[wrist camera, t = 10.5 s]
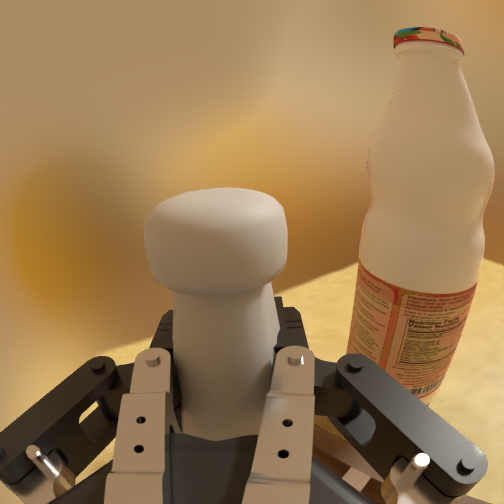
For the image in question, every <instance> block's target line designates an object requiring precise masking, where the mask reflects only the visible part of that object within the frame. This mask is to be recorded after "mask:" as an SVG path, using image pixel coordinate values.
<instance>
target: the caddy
mask: <svg viewBox="0 0 504 504" xmlns="http://www.w3.org/2000/svg"><path fill="white" fill-rule="evenodd" d="M312 455H313V456H314V457H316V458H317V459H318V460H319V461H320V462H322V463H323V464H324V465H325V466H327V467H328V468H329V469H330V470H332V471H333V472H334V473H336V474H337V475H338V476H339V477H341V478H342V479H343V480H345V481H346V482H347V483H349V484H350V485H351V486H353V487H354V488H355V489H357V490H358V491H359V492H361V493H362V494H363V495H365V496H366V497H368V498H369V499H370V500H372V501H374V502H376V503H378V504H386V501H385V500H384V498H383V497H382V495H381V485H382V482H383V481H384V480H383V478H382V477H381V476H380V475H379V474H378V473H377V472H376V471H375V470H374V469H373V468H372V467H371V466H370V465H369V464H368V462H367V461H366V460H365V459H364V458H363V457H362V456H361V455H360V454H359V453H358V452H357V450H356V449H355V448H354V447H353V446H352V445H351V444H350V443H348V442H346V441H344V440H343V439H341V438H339V437H337V436H335V435H333V434H332V433H330V432H328V431H326V430H324V429H323V428H321V427H319V426H317V425H316V424H314V427H313V445H312ZM456 504H491V503H488V502H485V501H481V500H478V499H475V498H473V497H470V496H467V495H464V496H463V497H462V498H461V499H460V500H459V501H458V502H457V503H456Z"/></svg>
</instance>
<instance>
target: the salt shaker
mask: <svg viewBox="0 0 504 504" xmlns="http://www.w3.org/2000/svg"><path fill="white" fill-rule="evenodd" d="M287 240H288V236H287V225H286V220H285V214H284V209H283V207H282V206H281V205H280V204H279V203H278V202H277V201H276V200H275V199H274V198H273V197H272V196H269V195H267V194H264V193H262V192H258V191H255V190H250V189H242V188H213V189H203V190H197V191H191V192H186V193H183V194H180V195H177V196H175V197H172V198H169V199H167V200H164V201H162V202H161V203H160V204H158V205H157V206H155V207H154V209H153V210H152V211H151V212H150V214H149V215H148V216H147V218H146V219H145V232H144V242H145V250H146V255H147V259H148V263H149V267H150V270H151V273H152V275H153V277H154V278H155V280H156V282H157V283H159V284H161V285H162V286H164V287H166V288H168V289H170V290H172V291H173V292H174V295H173V298H174V299H173V338H172V340H173V361H174V365H176V367H177V373H178V379H179V384H180V390H181V395H182V406H183V410H184V434H188V435H192V436H195V437H199V438H203V439H207V440H211V441H220V440H226V439H231V438H236V437H240V436H245V435H259V432H260V427H261V422H262V417H263V412H264V407H265V402H266V397H267V393H268V392H270V388H271V383H272V377H273V371H274V366H275V357H276V354H275V350H274V346H275V345H276V344H277V335H278V333H279V330H280V325H279V320H278V315H277V310H276V305H275V300H274V295H273V290H272V285H271V281H272V280H273V279H274V278H275V277H276V276H277V275H278V274H279V273H281V272H282V271H283V269H284V266H285V263H286V260H287V242H288V241H287Z"/></svg>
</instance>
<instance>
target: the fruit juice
mask: <svg viewBox="0 0 504 504" xmlns="http://www.w3.org/2000/svg"><path fill="white" fill-rule="evenodd" d="M394 49H395V51H396V52H395V54H396V56H397V58H399V60H400V66H399V72H398V75H397V78H396V82H395V86H394V89H393V92H392V96H391V99H390V102H389V105H388V107H387V110H386V113H385V115H384V117H383V119H382V121H381V123H380V124H379V126H378V128H377V129H376V130H375V132H374V134H373V135H372V137H371V139H370V142H369V146H368V152H367V170H368V176H369V180H370V185H371V189H372V203H371V206H370V208H369V210H368V212H367V214H366V216H365V219H364V224H363V229H362V235H361V242H360V250H359V264H358V274H357V283H356V291H355V299H354V307H353V314H352V321H351V328H350V334H349V341H348V347H347V353H346V355H347V354H353V353H354V354H362V355H365V356H367V357H369V358H370V359H371V360H372V361H374V362H375V363H376V364H377V365H378V366H380V367H381V368H382V369H383V370H384V371H386V372H387V373H388V374H389V375H390V376H392V377H393V378H394V379H395V380H397V381H398V382H399V383H400V384H401V385H403V386H404V387H405V388H406V389H407V390H409V391H410V392H411V393H412V394H413V395H415V396H416V397H417V398H418V399H419V400H421V401H422V402H423V403H424V404H425V405H428V404H429V403H430V402H431V401H432V399H433V398H434V397H435V395H436V394H437V392H438V390H439V388H440V386H441V384H442V381H443V379H444V377H445V375H446V372H447V370H448V368H449V365H450V363H451V360H452V358H453V355H454V353H455V350H456V347H457V345H458V342H459V339H460V337H461V334H462V331H463V328H464V325H465V322H466V319H467V316H468V313H469V310H470V306H471V303H472V300H473V296H474V293H475V289H476V286H477V282H478V279H479V275H480V271H481V267H482V261H483V255H484V247H485V236H484V230H483V221H482V219H483V213H484V210H485V207H486V205H487V202H488V200H489V197H490V194H491V191H492V188H493V184H494V160H493V156H492V153H491V150H490V148H489V146H488V144H487V142H486V139H485V137H484V134H483V132H482V129H481V126H480V123H479V120H478V117H477V114H476V111H475V108H474V105H473V102H472V99H471V96H470V93H469V90H468V87H467V84H466V82H465V79H464V77H463V74H462V71H461V64H463V62H464V58H463V57H464V49H463V45H462V42H461V40H460V38H459V37H458V36H456V35H454V34H452V33H450V32H447V31H443V30H439V29H434V28H424V27H417V28H416V27H415V28H406V29H402V30H399V31H397V32H396V33H395V34H394Z"/></svg>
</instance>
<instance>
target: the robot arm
mask: <svg viewBox="0 0 504 504" xmlns="http://www.w3.org/2000/svg"><path fill="white" fill-rule="evenodd" d="M274 300H275V305H276V310H277V315H278V320H279V325H280V330H279V333H278V335H277V344H276V345H275V346H274V350H275V354H276V357H275V366H274V371H273V377H272V383H271V388H270V392H268V393H267V397H266V402H265V407H264V412H263V417H262V422H261V427H260V432H259V435H245V436H240V437H236V438H231V439H226V440H220V441H211V440H207V439H203V438H199V437H195V436H192V435H188V434H184V410H183V406H182V395H181V390H180V384H179V379H178V373H177V367H176V365H174V361H173V340H172V338H173V310H169V311H168V312H167V313H166V314H165V315H163V316H162V319H161V321H160V323H159V326H158V328H157V331H156V333H155V335H154V338H153V340H152V343H151V345H150V347H149V349H146V350H144V351H142V352H140V353H139V354H138V355H137V356H136V358H135V362H134V363H130V364H125V365H119V366H116V364H115V362H114V360H113V359H112V358H110V357H107V356H98V357H94V358H92V359H90V360H88V361H87V362H86V363H85V364H83V365H82V366H81V367H80V368H78V369H77V370H76V371H75V372H73V373H72V374H71V375H70V376H69V377H67V378H66V379H65V380H64V381H62V382H61V383H60V384H59V385H57V386H56V387H55V388H54V389H53V390H51V391H50V392H49V393H48V394H46V395H45V396H44V397H43V398H42V399H40V400H39V401H38V402H37V403H35V404H34V405H33V406H32V407H31V408H29V409H28V410H27V411H26V412H24V413H23V414H22V415H21V416H20V417H18V418H17V419H16V420H15V421H14V422H13V423H11V424H10V425H9V426H8V427H6V428H5V429H4V430H3V431H2V432H0V481H1V482H2V483H3V484H4V485H5V486H6V487H7V488H9V489H10V490H11V491H12V492H13V493H14V494H15V495H16V496H18V497H19V498H20V499H21V501H22V502H23V503H24V504H376V503H375V502H373V501H372V500H370V499H369V498H368V497H366V496H365V495H363V494H362V493H361V492H359V491H358V490H357V489H355V488H354V487H353V486H351V485H350V484H349V483H347V482H346V481H345V480H343V479H342V478H341V477H339V476H338V475H337V474H336V473H334V472H333V471H332V470H330V469H329V468H328V467H327V466H325V465H324V464H323V463H322V462H320V461H319V460H318V459H317V458H316V457H314V456H313V455H312V445H313V427H314V414H316V415H322V416H328V418H329V420H330V421H331V423H332V424H333V425H334V426H335V427H336V428H337V429H338V430H339V432H340V433H341V434H342V435H343V436H344V437H345V438H346V439H347V440H348V442H349V443H350V444H351V445H352V446H353V447H354V448H355V449H356V450H357V452H358V453H359V454H360V455H361V456H362V457H363V458H364V459H365V460H366V461H367V462H368V464H369V465H370V466H371V467H372V468H373V469H374V470H375V471H376V472H377V473H378V474H379V475H380V476H381V477H382V478H383V480H384V481H383V482H382V485H381V495H382V497H383V498H384V500H385V501H386V504H456V503H457V502H458V501H459V500H460V499H461V498H462V497H463V496H464V495H465V494H466V493H468V492H469V491H470V490H471V489H472V488H473V487H474V486H475V485H476V484H477V483H478V482H479V481H480V479H481V478H482V477H483V476H484V475H485V473H486V471H487V467H488V462H487V458H486V456H485V454H484V453H483V452H482V451H481V450H480V449H479V448H478V447H476V446H475V445H474V444H473V443H472V442H470V441H469V440H468V439H467V438H465V437H464V436H463V435H462V434H461V433H459V432H458V431H457V430H456V429H455V428H453V427H452V426H451V425H450V424H448V423H447V422H446V421H445V420H444V419H442V418H441V417H440V416H439V415H438V414H436V413H435V412H434V411H433V410H431V409H430V408H429V407H428V406H427V405H425V404H424V403H423V402H422V401H421V400H419V399H418V398H417V397H416V396H415V395H413V394H412V393H411V392H410V391H409V390H407V389H406V388H405V387H404V386H403V385H401V384H400V383H399V382H398V381H397V380H395V379H394V378H393V377H392V376H390V375H389V374H388V373H387V372H386V371H384V370H383V369H382V368H381V367H380V366H378V365H377V364H376V363H375V362H374V361H372V360H371V359H370V358H369V357H367V356H365V355H362V354H354V353H353V354H347V355H344V356H342V357H341V358H340V359H339V360H338V362H337V363H334V362H327V361H323V360H320V359H318V358H316V357H315V356H314V354H313V352H312V351H311V350H309V347H308V343H307V339H306V335H305V331H304V328H303V323H302V319H301V315H300V312H299V311H297V310H296V309H295V308H294V307H283V303H282V297H281V296H279V297H274ZM95 401H96V402H97V404H98V405H99V406H98V407H97V408H96V409H95V410H94V411H93V412H92V413H91V414H89V415H88V416H87V417H86V418H85V419H84V420H83V421H82V422H81V423H80V424H79V418H80V416H81V414H82V413H83V412H84V411H86V410H87V409H88V408H89V407H90V406H91V405H92V404H93V403H94V402H95ZM115 437H116V440H115V448H114V456H113V460H111V461H110V462H108V463H107V464H106V465H104V466H103V467H101V468H100V469H99V470H97V471H96V472H94V473H93V474H91V475H90V476H88V477H87V478H85V479H84V480H82V481H81V482H79V483H78V484H76V485H75V478H76V477H77V476H78V475H79V474H80V473H81V472H82V471H83V470H84V469H85V468H86V467H87V466H88V465H89V464H90V463H91V462H92V461H93V460H94V459H95V458H96V457H97V456H98V455H99V454H100V453H101V452H102V451H103V450H104V449H105V447H106V446H107V445H108V444H109V443H110V442H111V441H112V440H113V439H114V438H115Z"/></svg>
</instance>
